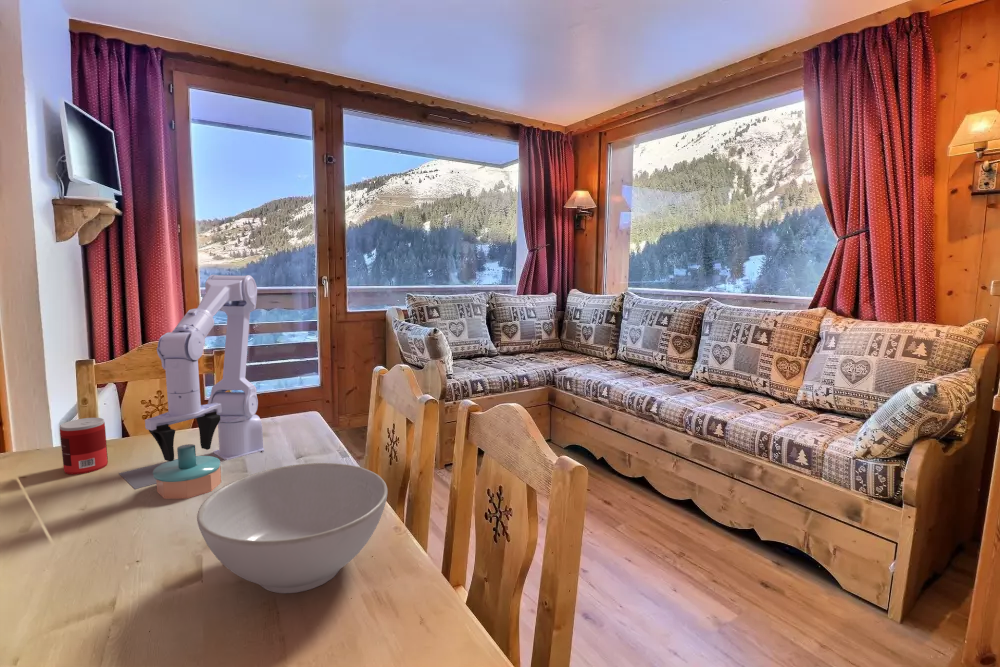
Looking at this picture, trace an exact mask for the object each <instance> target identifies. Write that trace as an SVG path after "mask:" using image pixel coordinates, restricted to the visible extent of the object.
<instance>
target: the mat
mask: <svg viewBox="0 0 1000 667" xmlns="http://www.w3.org/2000/svg"><path fill="white" fill-rule="evenodd" d="M166 462H169V461H164V462H163V461H162V462H160V463H156V464H150V465H148V466H143V467H139V468H135V469H131V470H126V471H123V472H118V475H120V476H121V477H122V478H123V479H124V481H126V482H127V483H128V484H129V486H131V487H132V488H133V489H134V490H137V489H138V490H139V489H142V488H146V487H149V486H153V485H157V482H156V479H155V478H154V477H153V471H154V469H155V468H156V467H158V466H160V465H161V464H164V463H166Z"/></svg>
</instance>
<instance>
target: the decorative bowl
mask: <svg viewBox="0 0 1000 667" xmlns="http://www.w3.org/2000/svg"><path fill="white" fill-rule="evenodd" d="M388 490H389V489H388V486H387V483H386V482H385V481H384V479H383V478H382V477H381V476H380V475H379V474H378V473H375V472H374V471H371V470H370V469H367V468H364V467H361V466H356V465H352V464H345V463H338V462H337V463H335V462H313V463H299V464H292V465H286V466H279V467H274V468H270V469H266V470H262V471H258V472H256V473H253V474H250V475H246V476H243V477H241V478H238V479H236V480H234V481H232V482H229V483H228V484H226V485H224V486H222V487H221V488H219V489H216V491H214V492H213V493H212V494H211V495H209V496H208V497H207V498H206V499H205V500H204V501H203V502H202V504H200V507H199V508H198V511H197V514H196V521H197V526H198V528H199V531H200V533H201V536H202V538H203V540H204V541H205V543H206V546H207V547H208V549H210V551H211V553H212V554H213V555H214V556H215V557H216V559H217V560H218V561H219V562H220V563H221V564H222V565H223V566H224V567H225V568H226V569H228V570H229V571H230V572H232V573H234V575H237V576H238V577H240V578H242V579H244V580H246V581H248V582H250V583H254V584H257V585H260V587H261V588H262V589H264V590H266V591H269V592H273V593H277V594H295V593H302V592H306V591H308V590H312V589H315V588H317V587H319V586H322V585H324V584H326V583H328V582H329V581H331V580H332V579H334V578H335V576H336V575H337V574H338V573H339V571H340V570H341V569H343V567H344V566H346V565H347V564H349V563H350V562H351V561H353V559H354V558H355V557H357V555H358V554H359V553H360V552H361V551H362V550H363V549H364V547H365V546H366V545H367V544H368V542H369V541H370V539H371V538H372V535H374V532H375V531H376V529H377V527H378V525H379V523H380V520H381V518H382V516H383V513H384V510H385V506H386V503H387V498H388V492H389V491H388Z"/></svg>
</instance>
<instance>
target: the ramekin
mask: <svg viewBox="0 0 1000 667" xmlns="http://www.w3.org/2000/svg"><path fill="white" fill-rule="evenodd" d="M221 467H222V466H221V465H220V467H219V469H218V470H216V471H215V472H213V473H211V474H209V475H206V476H203V477H200V478H197V479H192V480H187V481H179V482H163V481H159V480H156V482H157V484H156V493H158V494H159V495H160V496H161V497H162V498H163V499H164V500H166V499H167V500H168V499H170V500H171V499H173V500H174V499H175V500H177V499H179V500H180V499H190V498H193V497H197V496H201V495H204V494H208V493H211V492H212V491H213V490H215V489H216V488H218V487H219V485H220V484H221V483H222V470H221Z"/></svg>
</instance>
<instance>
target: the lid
mask: <svg viewBox="0 0 1000 667" xmlns="http://www.w3.org/2000/svg"><path fill="white" fill-rule="evenodd" d="M176 448H177V449H176V450H177V458H176V459H175V458H174V461H171V462H170V461H169V462H167V461H165V462H166V463H164V464H161V465H160V466H158V467H156V468H155V469H154V471H153V477H154V478H155V479H156V480H159V481H163V482H179V481H187V480H192V479H197V478H200V477H203V476H206V475H209V474H211V473H213V472H215V471H216V470H218V469H219V467H220V466H221V460H220V459H219V458H218V457H215V456H212V455H211V456H210V455H196V452H197V450H196V445H195V444H191V443H189V444H187V443H186V444H182V445H180V446H177V447H176Z"/></svg>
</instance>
